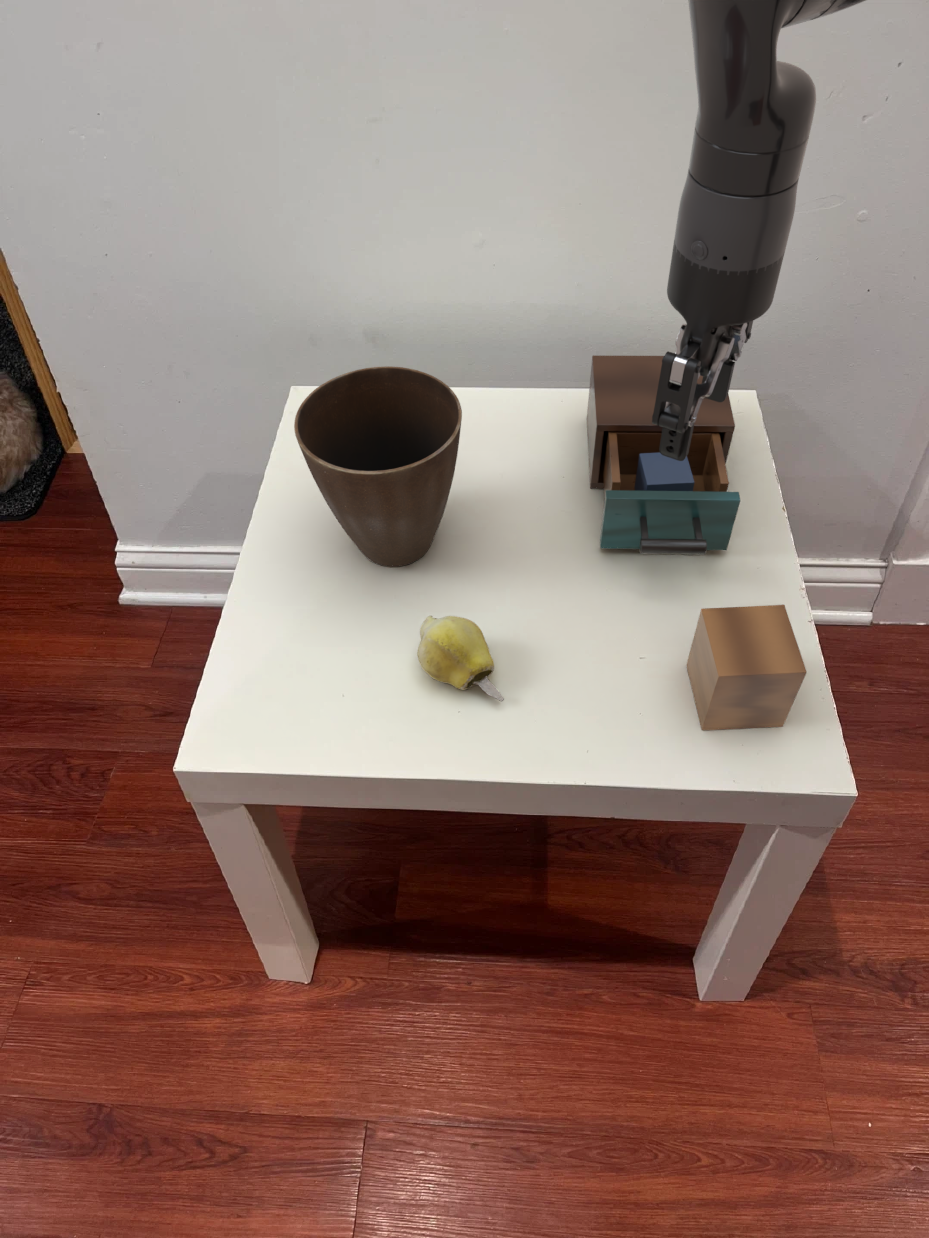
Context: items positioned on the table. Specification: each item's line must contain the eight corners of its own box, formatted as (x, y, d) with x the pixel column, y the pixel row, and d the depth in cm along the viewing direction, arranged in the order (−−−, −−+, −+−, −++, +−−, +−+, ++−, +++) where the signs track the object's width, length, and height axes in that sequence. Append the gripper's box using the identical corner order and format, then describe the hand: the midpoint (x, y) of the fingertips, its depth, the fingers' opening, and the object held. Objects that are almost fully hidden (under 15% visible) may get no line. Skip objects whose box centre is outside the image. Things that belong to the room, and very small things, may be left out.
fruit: (479, 729, 80) (393, 662, 83) (517, 696, 84) (434, 633, 87) (498, 685, 76) (408, 616, 79) (537, 653, 80) (450, 588, 83)
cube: (763, 661, 83) (784, 604, 77) (783, 726, 79) (807, 672, 73) (686, 664, 84) (701, 608, 77) (701, 730, 79) (718, 676, 73)
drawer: (732, 583, 88) (747, 533, 83) (602, 581, 89) (608, 531, 84) (714, 478, 98) (726, 427, 92) (596, 476, 98) (601, 426, 93)
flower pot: (325, 606, 89) (296, 483, 77) (317, 500, 99) (291, 375, 86) (477, 585, 90) (474, 461, 78) (455, 483, 100) (449, 357, 87)
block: (678, 485, 95) (685, 450, 92) (687, 516, 93) (694, 482, 89) (634, 487, 95) (639, 453, 92) (641, 518, 93) (647, 484, 89)
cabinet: (719, 490, 98) (735, 426, 91) (590, 488, 98) (596, 424, 92) (706, 420, 105) (720, 355, 98) (586, 419, 106) (592, 355, 99)
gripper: (746, 303, 58) (703, 493, 71) (817, 205, 66) (767, 392, 78) (636, 273, 61) (614, 461, 73) (717, 182, 68) (684, 367, 81)
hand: (693, 425), depth 76 cm, fingers open, 8 cm apart
